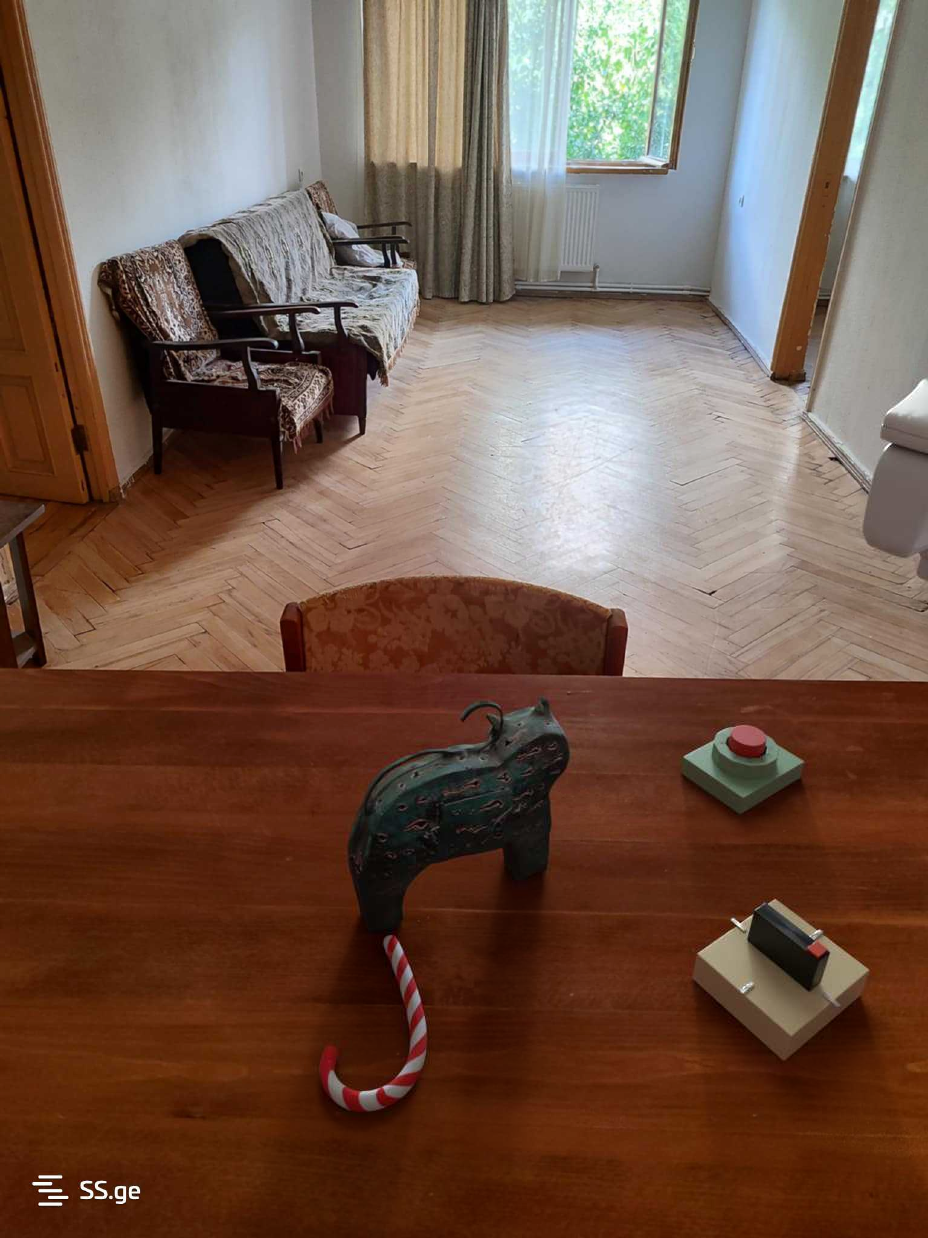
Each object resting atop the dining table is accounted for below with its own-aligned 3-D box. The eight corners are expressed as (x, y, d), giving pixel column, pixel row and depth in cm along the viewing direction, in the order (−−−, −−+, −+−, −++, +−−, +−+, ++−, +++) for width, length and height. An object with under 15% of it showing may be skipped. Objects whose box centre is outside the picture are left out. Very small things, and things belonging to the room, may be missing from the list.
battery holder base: (764, 917, 78) (770, 892, 76) (868, 999, 71) (878, 973, 69) (685, 974, 73) (690, 948, 71) (789, 1068, 65) (797, 1042, 64)
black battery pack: (746, 940, 72) (754, 908, 70) (758, 932, 73) (766, 899, 71) (809, 992, 68) (819, 959, 66) (821, 983, 68) (831, 950, 67)
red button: (743, 734, 95) (745, 721, 94) (770, 751, 93) (773, 737, 92) (721, 746, 93) (723, 732, 92) (748, 763, 91) (751, 750, 90)
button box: (740, 740, 100) (746, 711, 98) (800, 777, 94) (808, 748, 92) (680, 773, 95) (685, 743, 93) (739, 814, 89) (746, 784, 87)
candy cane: (429, 931, 75) (424, 1104, 61) (429, 942, 75) (425, 1115, 62) (337, 932, 74) (313, 1105, 61) (338, 943, 75) (314, 1116, 62)
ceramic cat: (538, 836, 86) (551, 663, 76) (573, 881, 81) (591, 703, 71) (345, 901, 79) (330, 720, 69) (370, 956, 74) (358, 769, 64)
